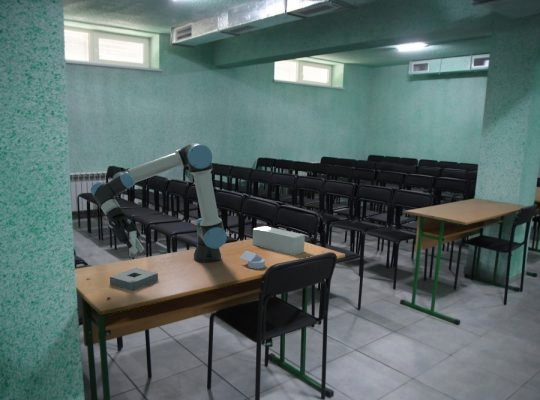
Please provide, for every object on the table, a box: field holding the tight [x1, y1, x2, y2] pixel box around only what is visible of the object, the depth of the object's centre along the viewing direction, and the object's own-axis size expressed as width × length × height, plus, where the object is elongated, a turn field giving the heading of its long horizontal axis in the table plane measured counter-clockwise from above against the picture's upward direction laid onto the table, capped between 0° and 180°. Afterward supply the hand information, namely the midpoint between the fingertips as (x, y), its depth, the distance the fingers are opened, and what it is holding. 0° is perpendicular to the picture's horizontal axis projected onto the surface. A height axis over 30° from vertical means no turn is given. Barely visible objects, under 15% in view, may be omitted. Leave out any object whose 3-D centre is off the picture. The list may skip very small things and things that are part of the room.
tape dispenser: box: [239, 250, 266, 270], centre depth 232 cm, size 9×7×13 cm
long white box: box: [251, 225, 306, 256], centre depth 267 cm, size 32×11×11 cm, turn 52°
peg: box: [128, 231, 138, 259], centre depth 198 cm, size 3×3×12 cm
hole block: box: [109, 267, 159, 291], centre depth 201 cm, size 16×14×4 cm
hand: (139, 251), depth 197 cm, fingers closed on peg, 3 cm apart
